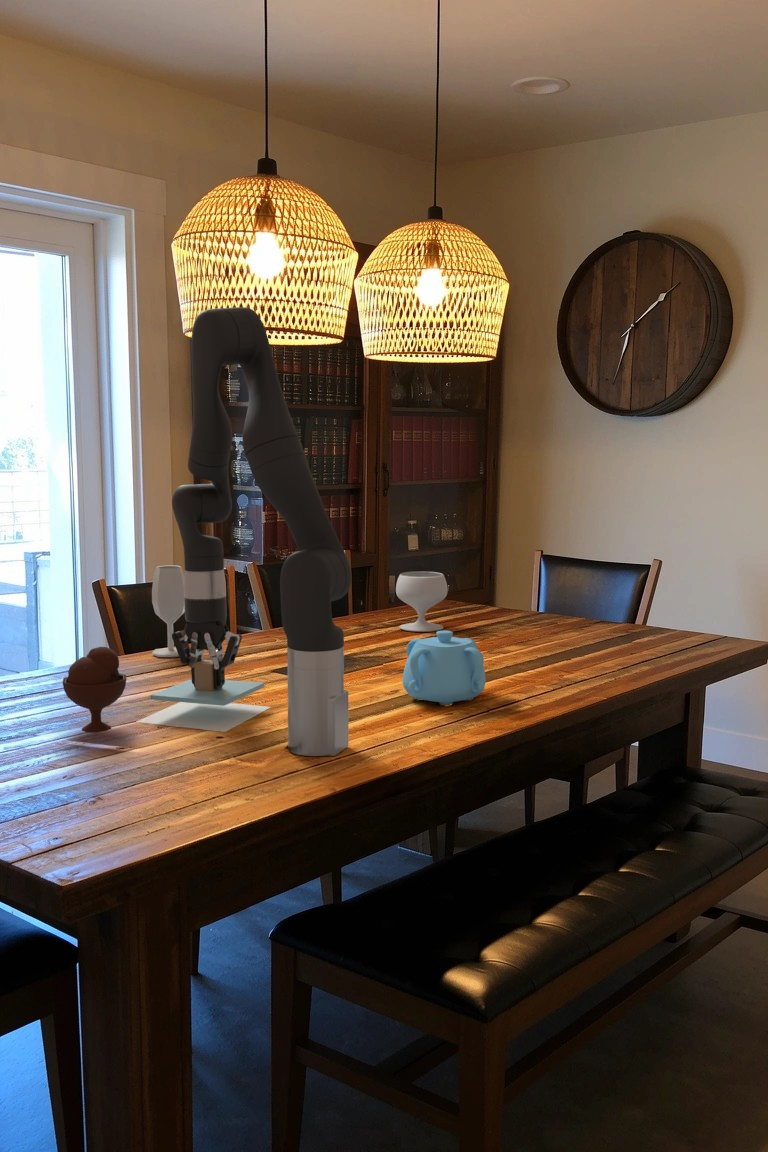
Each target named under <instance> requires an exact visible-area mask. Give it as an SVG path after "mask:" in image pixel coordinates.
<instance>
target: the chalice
mask: <svg viewBox="0 0 768 1152" xmlns="http://www.w3.org/2000/svg"><path fill="white" fill-rule="evenodd" d="M448 590H449V589H448V583H447V580H446V577H445V574H443V573H441V572H436V571H426V570H425V571H421V570H420V571H405V572H401V573H400V574H399V576H398V578H397V581H396V586H395V593H396V596H397V597H398V599H399V600H401V601H402V602H403V603H405V604H407V605H408V606H410V607H412V608H413V609H414V610H415V612H416V613H417V620H416V621H415V622H409V623H405V624H404V623H403V624H401V625H399V626H398V628H399V629H401V630H403V631H407V632H419V633H420V632H421V633H426V632H428V633H429V632H438V631H442V630H443V629H445V628H444V626H443V625H441V624H438V623H434V622H428V621H427V619H426V618H425V617H426V613H427V611H428V610H430V609H431V608H433V607H434V606H435V605H438V604H439V603H441V602H442V601H444V600H445V598H446V597H447V595H448Z"/></svg>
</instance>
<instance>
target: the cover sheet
mask: <svg viewBox="0 0 768 1152" xmlns="http://www.w3.org/2000/svg"><path fill="white" fill-rule="evenodd" d="M213 669H214V667H213V663H212V659H202V661H199V662H197V663H194V670H195V687H194V684H192V678H190V679H188V680H185V681H182V682H180V683H177V684H175V685H172V686H169V687H167V688H165V689H162V690H160V691H157V692H154V693H152V694H150V700H152V701H165V702H175V703H179V702H186V703H198V704H209V705H221V706H225V705H227V704H229V703H234V702H235V701H237V700H239V699H242V698H244V697H246V696H248V695H251V694H252V693H255V692H257V691H259V690H261V689H263V688H265V683H264V682H258V681H257V682H255V681H243V680H242V681H241V680H230V679H225V683H224V685H223V686H222V688H220V689H214V681H213Z"/></svg>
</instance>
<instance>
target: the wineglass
mask: <svg viewBox="0 0 768 1152" xmlns="http://www.w3.org/2000/svg"><path fill="white" fill-rule="evenodd" d="M184 575H185V572H184V570H183V567H182V566H181V565H174V564H173V565H169V564H168V565H158V566H156V567H155V569H154V573H153V578H152V587H151V588H152V589H151V603H152V606H153V610H154V614H155V615H156V616H158V618H159V619H161V620H162V621H163V622H164V623H166V626H167V628H166V629H167V647H163V648H155V649H154V650H152V653H151V654H152V656H155V657H157V658H177V657H179V655H178V652H177V649H176V647H175V644H174V641H173V639H172V634H173V633H174V623H175V622H176V621H178V620H179V618H180V617H181V616H182V615H184V614H185V604H184ZM179 658H180V657H179Z"/></svg>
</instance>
